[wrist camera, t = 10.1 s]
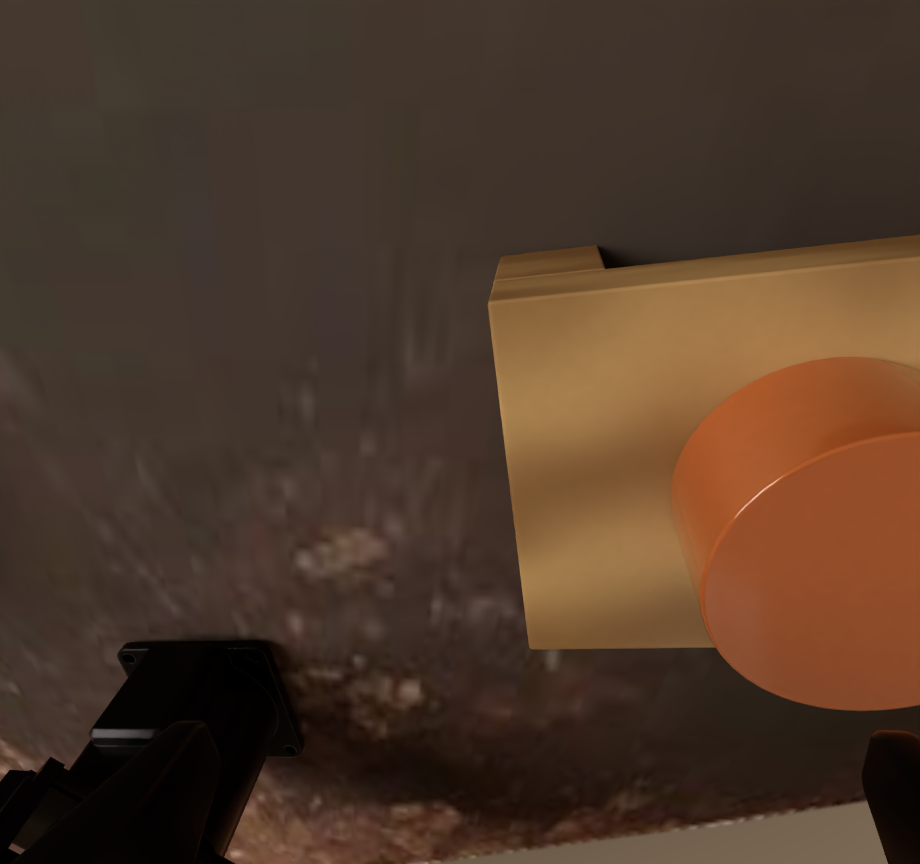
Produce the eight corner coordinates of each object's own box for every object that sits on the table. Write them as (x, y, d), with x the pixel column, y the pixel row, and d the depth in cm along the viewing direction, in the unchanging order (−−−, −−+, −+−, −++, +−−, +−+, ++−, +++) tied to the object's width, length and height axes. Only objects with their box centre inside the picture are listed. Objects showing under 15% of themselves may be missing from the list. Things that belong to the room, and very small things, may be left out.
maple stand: (992, 533, 19) (1106, 645, 15) (532, 550, 22) (529, 650, 18) (1092, 187, 15) (1289, 218, 11) (500, 255, 17) (486, 301, 13)
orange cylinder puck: (944, 593, 15) (1041, 713, 12) (668, 600, 16) (695, 712, 13) (1009, 341, 12) (1156, 417, 9) (670, 370, 14) (706, 445, 10)
